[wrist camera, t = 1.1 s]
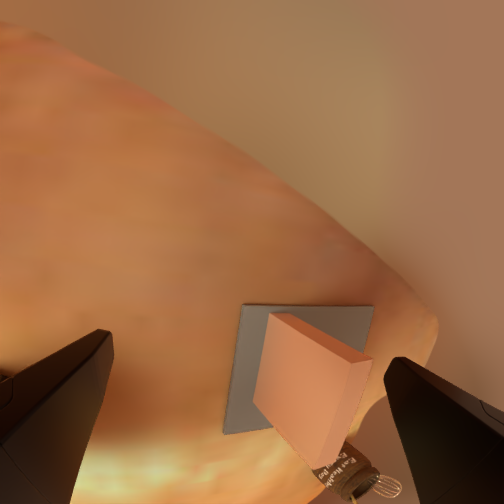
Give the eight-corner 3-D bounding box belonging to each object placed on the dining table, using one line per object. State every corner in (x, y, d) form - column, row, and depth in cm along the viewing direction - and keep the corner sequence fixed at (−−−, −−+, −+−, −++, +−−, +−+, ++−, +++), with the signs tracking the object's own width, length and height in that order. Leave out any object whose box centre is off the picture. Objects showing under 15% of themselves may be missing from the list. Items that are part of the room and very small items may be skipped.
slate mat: (342, 407, 28) (345, 409, 28) (222, 432, 22) (224, 434, 22) (371, 305, 27) (374, 306, 27) (242, 304, 21) (244, 305, 21)
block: (273, 398, 23) (337, 461, 15) (252, 401, 22) (313, 470, 14) (291, 313, 23) (375, 358, 15) (269, 313, 22) (351, 363, 14)
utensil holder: (354, 441, 31) (418, 488, 20) (326, 475, 30) (382, 525, 19) (331, 436, 28) (401, 493, 18) (299, 473, 27) (359, 534, 17)
